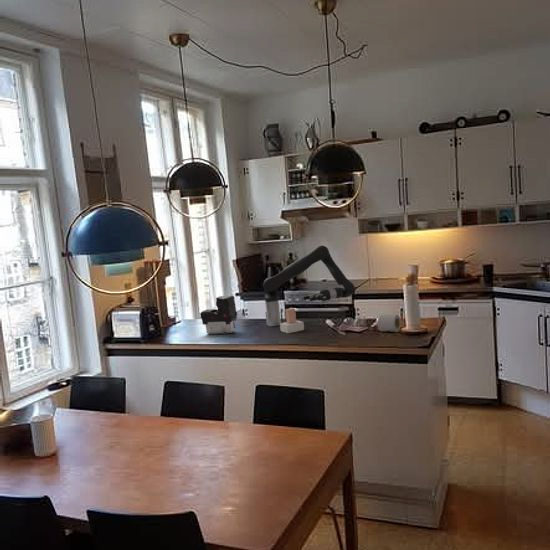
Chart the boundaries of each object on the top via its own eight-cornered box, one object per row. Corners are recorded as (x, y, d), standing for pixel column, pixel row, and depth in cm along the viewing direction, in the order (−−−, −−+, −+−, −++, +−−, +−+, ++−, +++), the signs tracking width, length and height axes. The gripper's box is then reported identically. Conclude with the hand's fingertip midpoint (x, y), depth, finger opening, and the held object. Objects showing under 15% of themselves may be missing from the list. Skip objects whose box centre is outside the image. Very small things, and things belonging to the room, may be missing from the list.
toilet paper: (401, 329, 331) (400, 313, 330) (394, 333, 323) (393, 316, 322) (385, 329, 337) (384, 313, 336) (378, 332, 329) (377, 316, 328)
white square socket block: (287, 334, 350) (286, 324, 350) (280, 332, 359) (279, 322, 359) (304, 331, 355) (303, 321, 355) (297, 329, 364) (296, 319, 364)
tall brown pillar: (290, 331, 354) (288, 310, 353) (287, 330, 358) (285, 309, 356) (297, 330, 356) (295, 308, 355) (294, 329, 360) (292, 308, 359)
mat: (296, 334, 347) (296, 334, 347) (308, 330, 356) (308, 329, 356) (307, 336, 341) (306, 335, 341) (319, 331, 349) (319, 330, 349)
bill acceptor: (209, 332, 386) (205, 296, 383) (239, 331, 378) (235, 295, 375) (202, 335, 376) (198, 299, 373) (233, 334, 368) (228, 297, 365)
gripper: (321, 288, 373) (301, 292, 367) (333, 289, 361) (311, 294, 354) (323, 299, 374) (302, 303, 367) (334, 301, 361) (312, 305, 355)
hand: (306, 299), depth 361 cm, fingers open, 8 cm apart
